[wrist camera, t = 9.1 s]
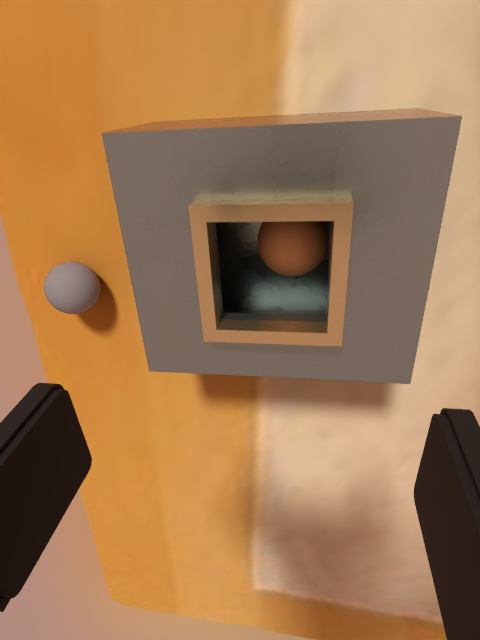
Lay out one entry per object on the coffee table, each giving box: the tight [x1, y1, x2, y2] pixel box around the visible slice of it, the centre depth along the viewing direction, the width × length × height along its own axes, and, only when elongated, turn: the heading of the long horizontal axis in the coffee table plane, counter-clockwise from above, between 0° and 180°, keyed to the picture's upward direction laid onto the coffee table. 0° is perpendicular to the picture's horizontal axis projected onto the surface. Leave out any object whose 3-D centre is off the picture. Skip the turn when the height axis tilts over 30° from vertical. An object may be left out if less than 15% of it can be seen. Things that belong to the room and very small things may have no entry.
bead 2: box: [257, 221, 329, 276], centre depth 26 cm, size 4×4×4 cm
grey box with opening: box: [102, 109, 462, 384], centre depth 24 cm, size 16×14×9 cm
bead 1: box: [44, 262, 101, 314], centre depth 31 cm, size 4×4×4 cm
